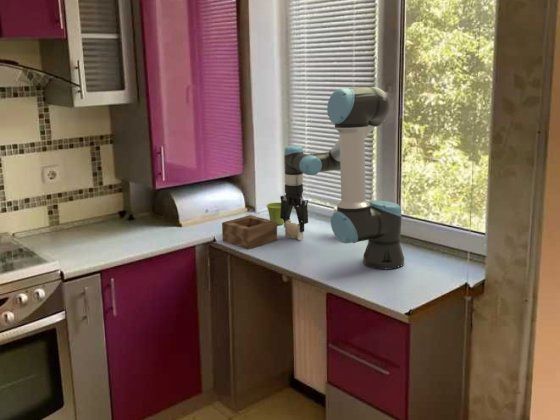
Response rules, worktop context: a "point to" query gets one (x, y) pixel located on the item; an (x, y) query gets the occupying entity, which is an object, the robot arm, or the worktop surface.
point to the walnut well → (249, 231)
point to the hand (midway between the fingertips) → (294, 237)
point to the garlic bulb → (291, 230)
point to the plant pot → (275, 212)
